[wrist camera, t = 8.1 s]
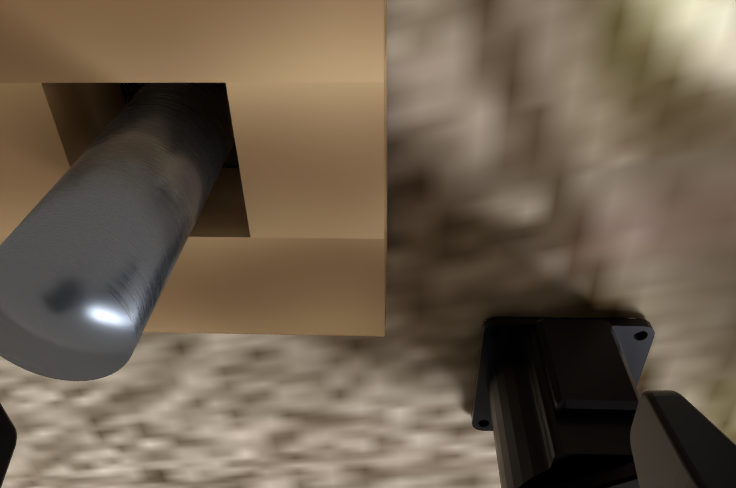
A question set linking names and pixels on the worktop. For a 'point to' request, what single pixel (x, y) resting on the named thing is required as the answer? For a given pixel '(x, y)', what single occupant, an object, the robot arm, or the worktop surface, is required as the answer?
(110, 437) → the worktop surface
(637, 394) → the robot arm
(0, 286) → the pin
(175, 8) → the socket block
